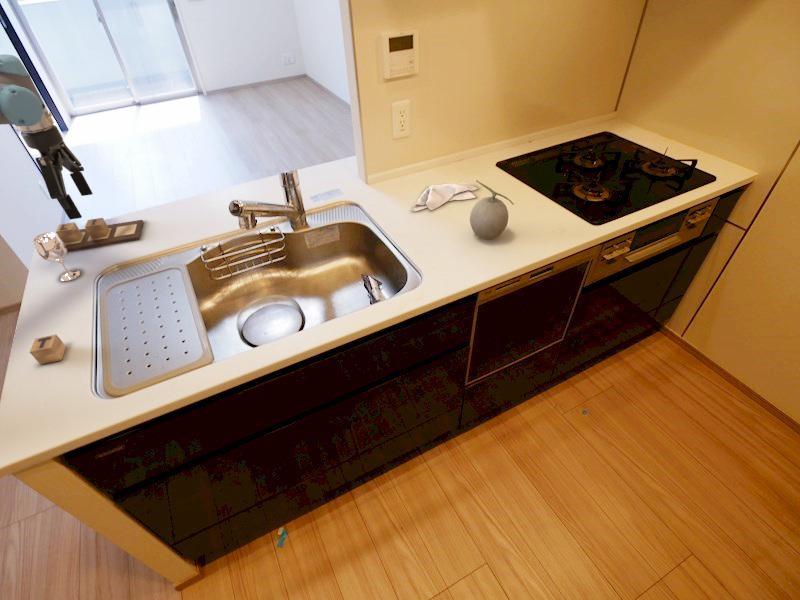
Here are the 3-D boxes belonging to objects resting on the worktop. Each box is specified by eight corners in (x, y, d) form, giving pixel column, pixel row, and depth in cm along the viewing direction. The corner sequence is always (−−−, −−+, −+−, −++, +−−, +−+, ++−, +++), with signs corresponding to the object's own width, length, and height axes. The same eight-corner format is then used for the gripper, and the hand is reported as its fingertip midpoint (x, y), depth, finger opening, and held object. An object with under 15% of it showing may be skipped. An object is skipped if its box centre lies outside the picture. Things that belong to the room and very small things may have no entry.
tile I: (91, 238, 122) (84, 226, 120) (94, 231, 125) (87, 219, 123) (107, 236, 123) (100, 224, 121) (109, 229, 126) (102, 217, 123)
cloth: (464, 178, 150) (465, 172, 148) (486, 196, 140) (487, 189, 139) (397, 195, 141) (397, 188, 140) (416, 214, 132) (416, 208, 131)
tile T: (40, 364, 90) (28, 352, 87) (45, 350, 92) (34, 338, 90) (61, 360, 91) (50, 347, 88) (66, 346, 93) (56, 333, 91)
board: (54, 254, 119) (52, 251, 118) (63, 235, 126) (61, 232, 125) (139, 239, 124) (138, 236, 123) (143, 222, 131) (142, 219, 130)
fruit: (509, 246, 119) (519, 198, 109) (468, 244, 120) (474, 197, 110) (506, 226, 127) (515, 179, 117) (467, 224, 128) (472, 178, 118)
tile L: (63, 243, 121) (55, 231, 118) (66, 236, 124) (59, 224, 121) (78, 241, 122) (71, 229, 119) (82, 233, 124) (74, 221, 122)
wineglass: (57, 285, 109) (29, 246, 101) (58, 272, 113) (31, 234, 105) (82, 278, 111) (57, 240, 103) (83, 266, 115) (58, 228, 106)
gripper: (39, 145, 95) (86, 226, 109) (68, 110, 113) (105, 184, 127) (0, 149, 94) (53, 231, 108) (35, 113, 111) (77, 187, 126)
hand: (81, 206), depth 118 cm, fingers open, 13 cm apart
